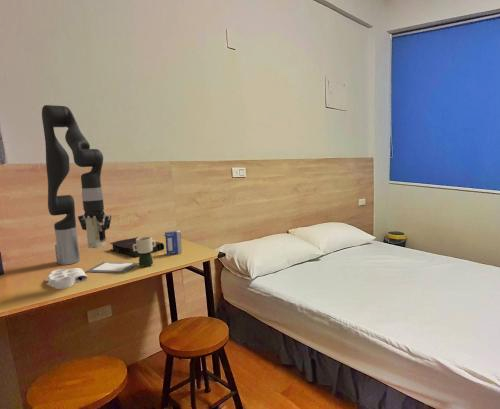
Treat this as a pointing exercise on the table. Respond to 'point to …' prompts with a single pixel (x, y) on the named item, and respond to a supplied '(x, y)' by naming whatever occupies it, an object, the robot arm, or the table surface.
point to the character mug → (144, 250)
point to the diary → (127, 247)
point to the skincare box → (94, 234)
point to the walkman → (173, 242)
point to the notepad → (112, 267)
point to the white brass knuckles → (65, 277)
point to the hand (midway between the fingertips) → (97, 239)
